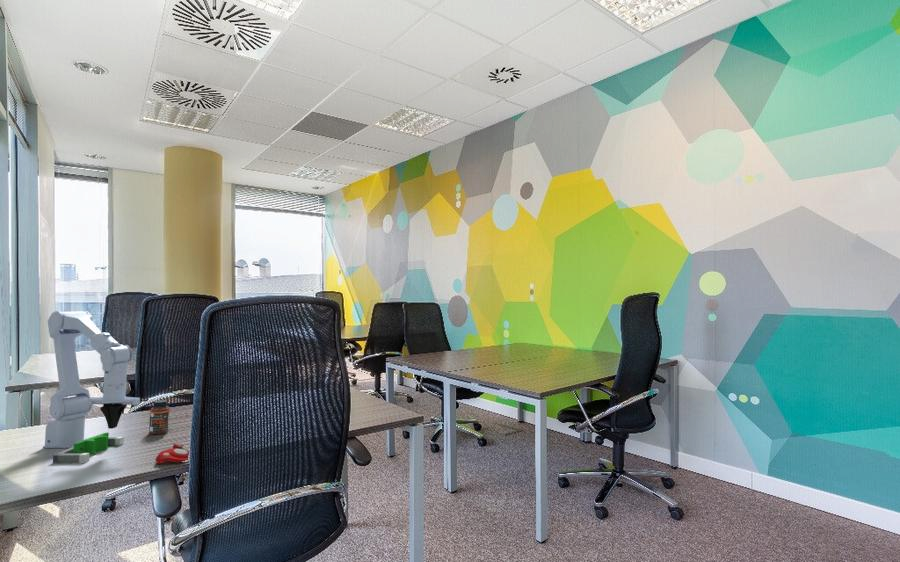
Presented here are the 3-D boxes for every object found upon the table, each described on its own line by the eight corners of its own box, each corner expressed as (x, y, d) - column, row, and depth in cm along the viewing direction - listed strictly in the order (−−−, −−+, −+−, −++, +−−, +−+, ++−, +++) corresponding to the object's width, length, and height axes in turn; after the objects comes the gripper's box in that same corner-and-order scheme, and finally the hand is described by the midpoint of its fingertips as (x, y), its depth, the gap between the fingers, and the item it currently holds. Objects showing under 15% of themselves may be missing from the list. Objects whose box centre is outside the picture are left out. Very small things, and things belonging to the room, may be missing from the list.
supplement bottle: (150, 436, 156) (152, 403, 157) (147, 432, 160) (148, 400, 161) (170, 432, 160) (171, 401, 161) (166, 428, 165) (168, 398, 165)
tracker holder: (201, 455, 136) (167, 457, 128) (195, 470, 135) (161, 472, 127) (183, 439, 143) (150, 439, 135) (178, 452, 142) (144, 453, 134)
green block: (84, 459, 134) (84, 444, 134) (72, 458, 134) (73, 443, 134) (115, 446, 145) (116, 432, 145) (104, 446, 145) (105, 432, 146)
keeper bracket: (52, 463, 130) (52, 455, 130) (94, 443, 147) (95, 436, 147) (84, 462, 130) (85, 455, 131) (123, 443, 148) (123, 436, 148)
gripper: (81, 386, 136) (78, 431, 135) (130, 387, 137) (128, 431, 136) (97, 382, 143) (95, 424, 142) (144, 382, 144) (142, 424, 143)
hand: (112, 427), depth 140 cm, fingers closed
